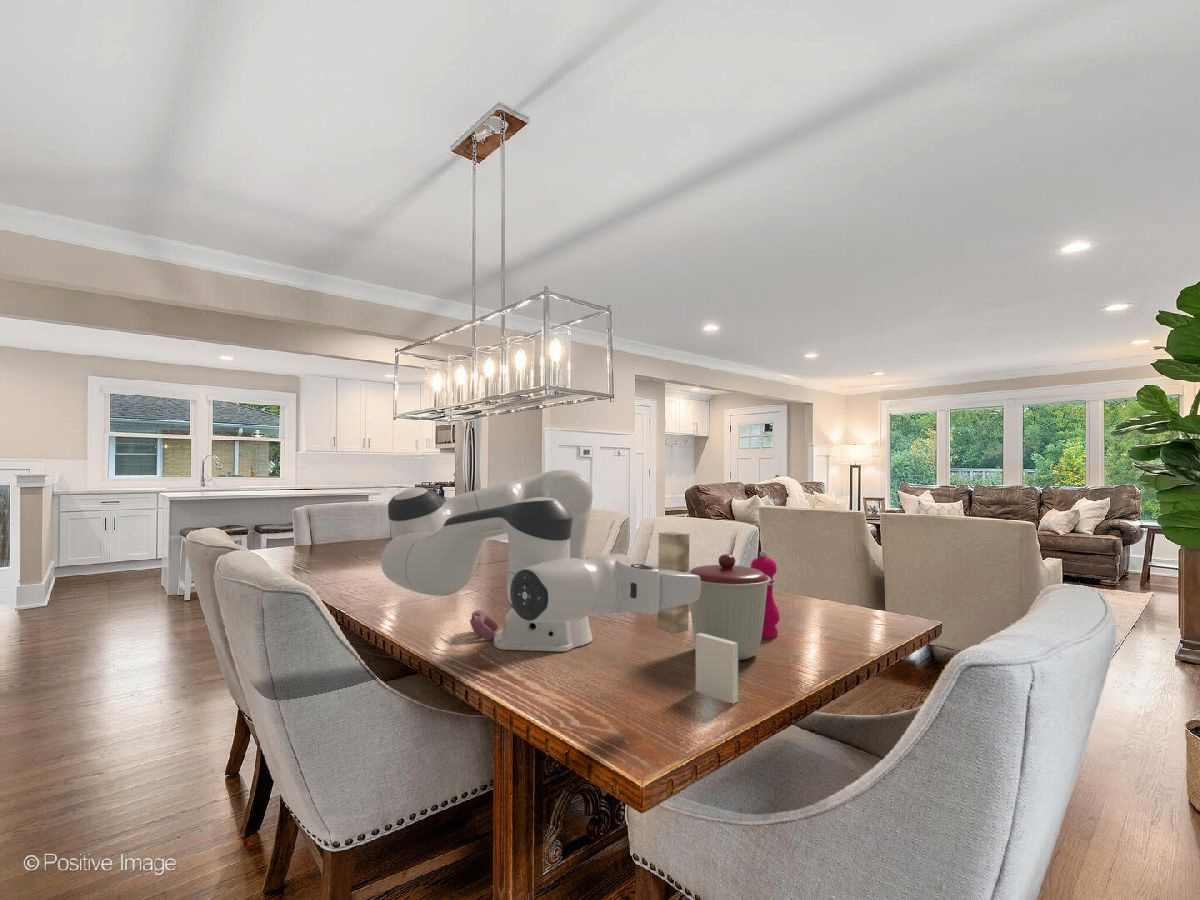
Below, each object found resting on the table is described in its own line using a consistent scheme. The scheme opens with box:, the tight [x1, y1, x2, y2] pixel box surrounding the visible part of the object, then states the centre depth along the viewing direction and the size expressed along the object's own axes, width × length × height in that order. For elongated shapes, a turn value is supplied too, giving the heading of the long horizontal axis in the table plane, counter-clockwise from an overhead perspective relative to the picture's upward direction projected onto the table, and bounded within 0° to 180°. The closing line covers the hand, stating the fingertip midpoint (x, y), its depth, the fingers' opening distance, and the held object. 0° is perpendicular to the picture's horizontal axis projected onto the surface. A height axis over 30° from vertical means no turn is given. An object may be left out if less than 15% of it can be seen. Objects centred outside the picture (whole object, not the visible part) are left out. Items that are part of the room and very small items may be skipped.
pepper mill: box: [750, 550, 780, 639], centre depth 141 cm, size 7×7×20 cm
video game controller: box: [469, 608, 499, 641], centre depth 140 cm, size 10×5×7 cm, turn 5°
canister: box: [689, 554, 771, 661], centre depth 127 cm, size 18×18×21 cm
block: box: [657, 531, 690, 635], centre depth 99 cm, size 4×4×16 cm
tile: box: [695, 633, 740, 705], centre depth 103 cm, size 2×8×10 cm, turn 41°
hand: (677, 574), depth 99 cm, fingers closed on block, 4 cm apart
